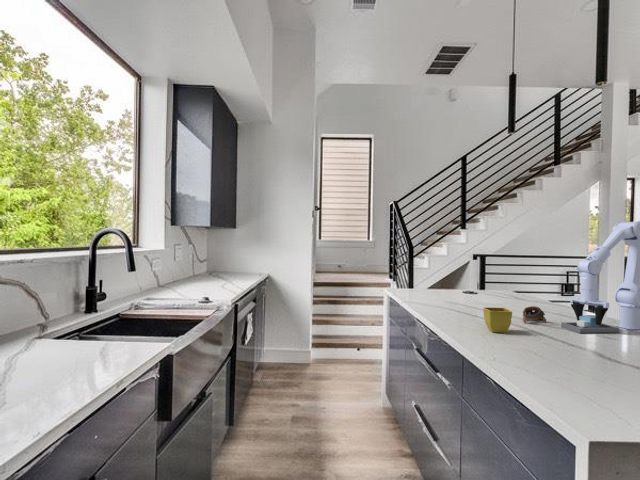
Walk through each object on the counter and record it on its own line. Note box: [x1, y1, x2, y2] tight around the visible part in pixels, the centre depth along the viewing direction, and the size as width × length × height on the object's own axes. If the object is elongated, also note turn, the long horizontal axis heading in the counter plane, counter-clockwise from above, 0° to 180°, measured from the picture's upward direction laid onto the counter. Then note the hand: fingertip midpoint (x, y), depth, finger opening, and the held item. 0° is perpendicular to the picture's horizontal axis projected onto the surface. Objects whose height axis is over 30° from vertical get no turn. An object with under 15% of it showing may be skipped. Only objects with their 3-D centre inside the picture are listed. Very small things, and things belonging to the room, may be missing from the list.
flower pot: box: [483, 306, 513, 334], centre depth 162 cm, size 9×9×9 cm
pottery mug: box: [522, 306, 547, 324], centre depth 180 cm, size 12×10×8 cm
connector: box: [576, 314, 599, 328], centre depth 164 cm, size 10×4×5 cm, turn 113°
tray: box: [560, 321, 620, 335], centre depth 164 cm, size 16×12×2 cm
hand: (589, 322), depth 164 cm, fingers open, 7 cm apart
